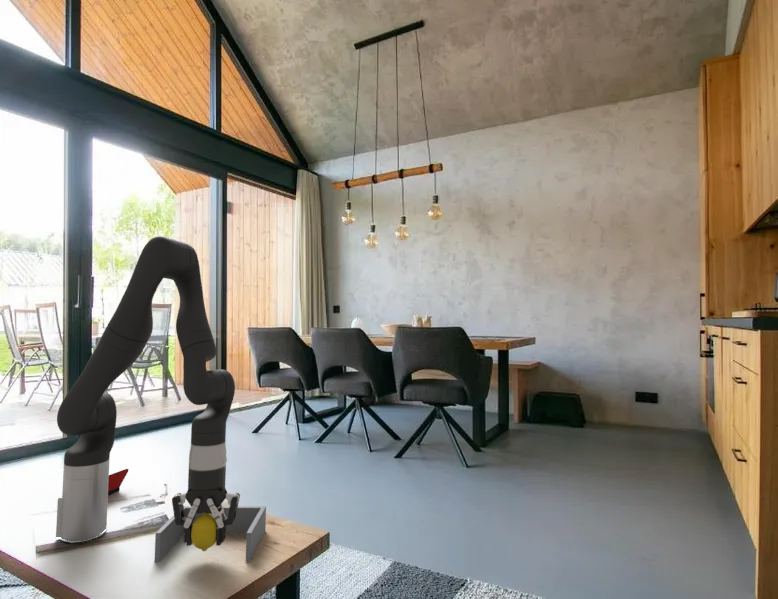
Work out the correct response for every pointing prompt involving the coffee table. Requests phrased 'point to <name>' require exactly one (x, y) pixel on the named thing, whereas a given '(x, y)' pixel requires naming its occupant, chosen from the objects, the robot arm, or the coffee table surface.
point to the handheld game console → (116, 481)
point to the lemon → (204, 532)
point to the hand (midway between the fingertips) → (204, 543)
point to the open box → (245, 522)
